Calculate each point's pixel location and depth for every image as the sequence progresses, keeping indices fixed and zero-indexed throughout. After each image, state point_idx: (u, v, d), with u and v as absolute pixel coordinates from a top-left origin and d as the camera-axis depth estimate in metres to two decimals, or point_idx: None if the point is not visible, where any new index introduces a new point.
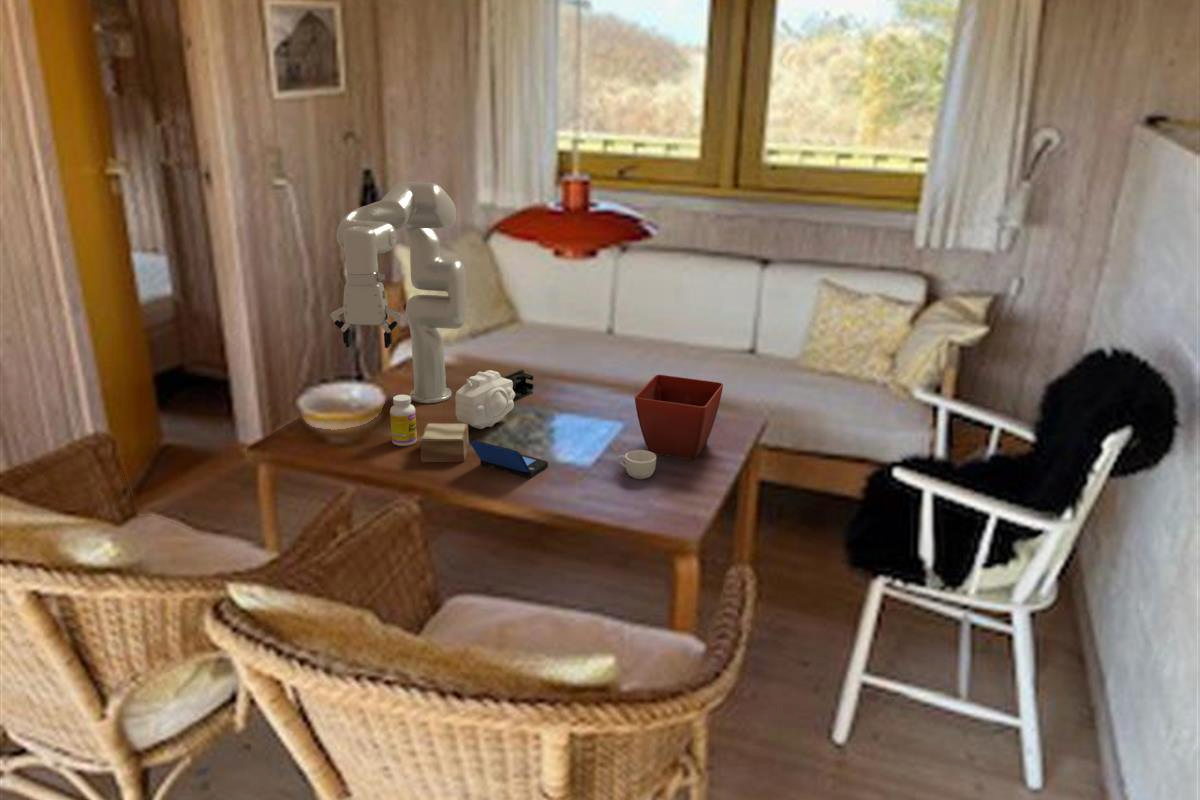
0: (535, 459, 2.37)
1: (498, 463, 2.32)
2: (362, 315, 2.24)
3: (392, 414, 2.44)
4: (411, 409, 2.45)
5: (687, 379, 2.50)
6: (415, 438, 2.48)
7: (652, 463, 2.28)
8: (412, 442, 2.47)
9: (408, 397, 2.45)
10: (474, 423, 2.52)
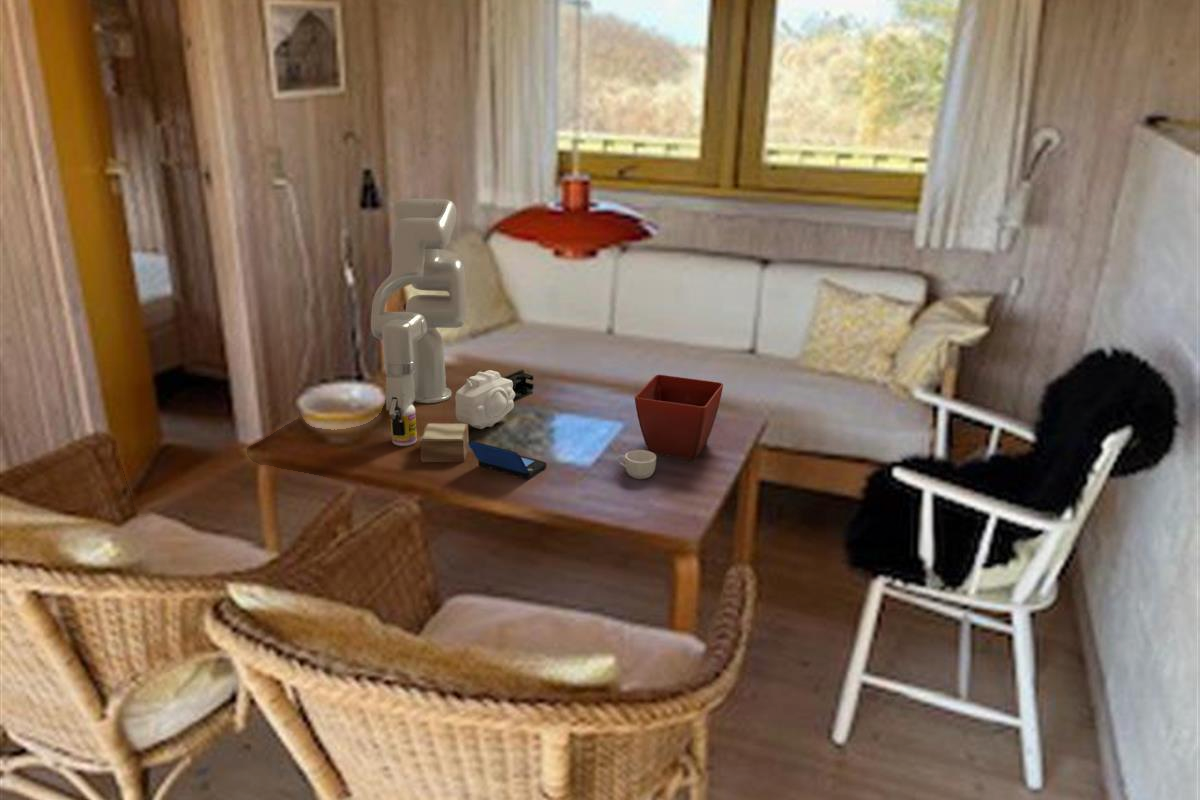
0: (533, 460, 2.37)
1: (497, 464, 2.32)
2: (409, 398, 2.44)
3: None
4: (411, 409, 2.45)
5: (687, 379, 2.50)
6: (415, 438, 2.48)
7: (652, 463, 2.28)
8: (412, 442, 2.47)
9: None
10: (474, 423, 2.52)
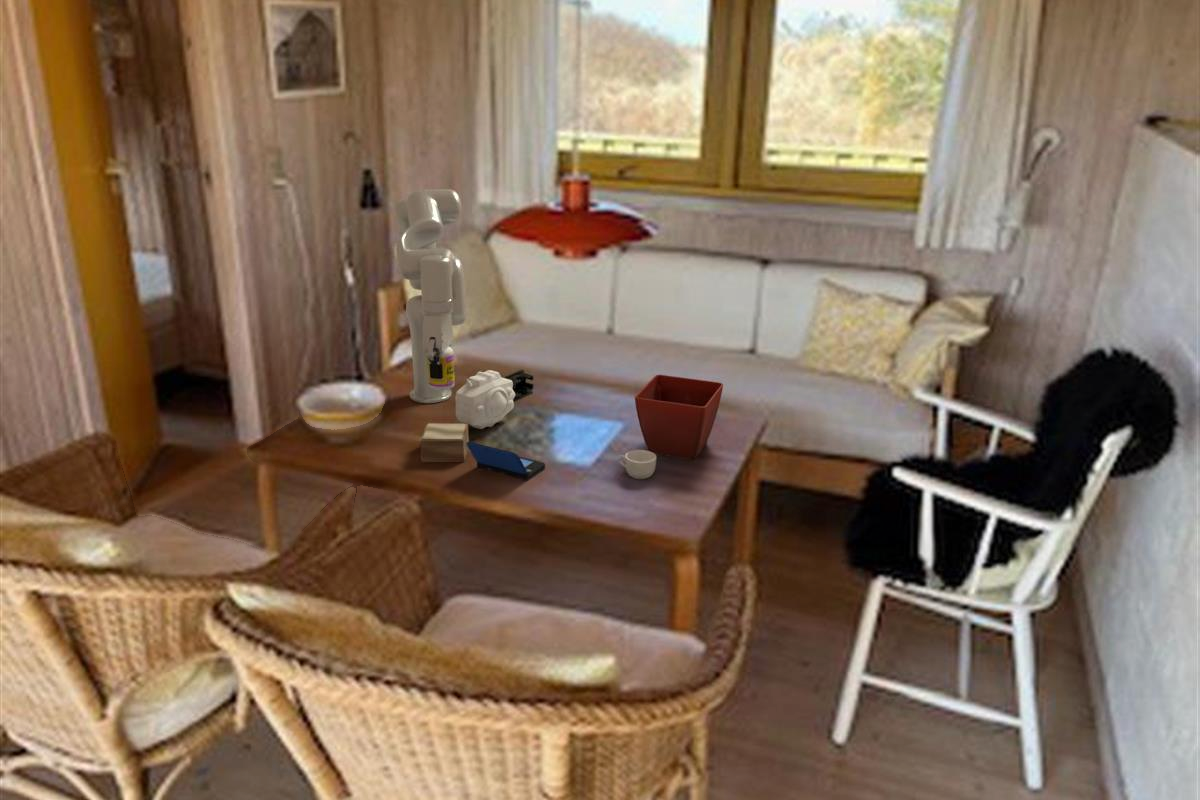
0: (532, 461, 2.36)
1: (495, 465, 2.31)
2: (447, 339, 2.31)
3: None
4: (449, 351, 2.31)
5: (687, 379, 2.50)
6: (452, 382, 2.35)
7: (652, 463, 2.28)
8: (450, 386, 2.34)
9: None
10: (474, 423, 2.52)
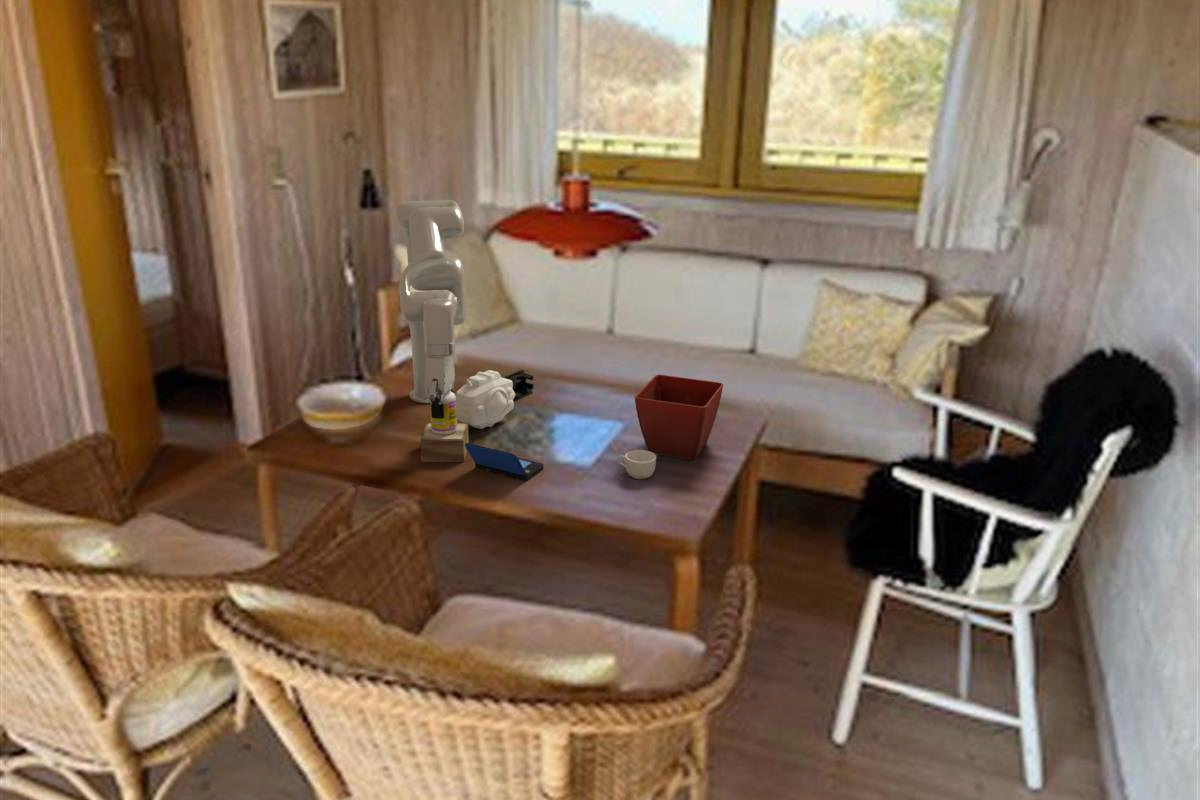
0: (530, 462, 2.36)
1: (494, 466, 2.30)
2: (449, 380, 2.35)
3: None
4: (451, 396, 2.36)
5: (687, 379, 2.50)
6: (455, 426, 2.39)
7: (652, 463, 2.28)
8: (452, 431, 2.39)
9: None
10: (474, 423, 2.52)
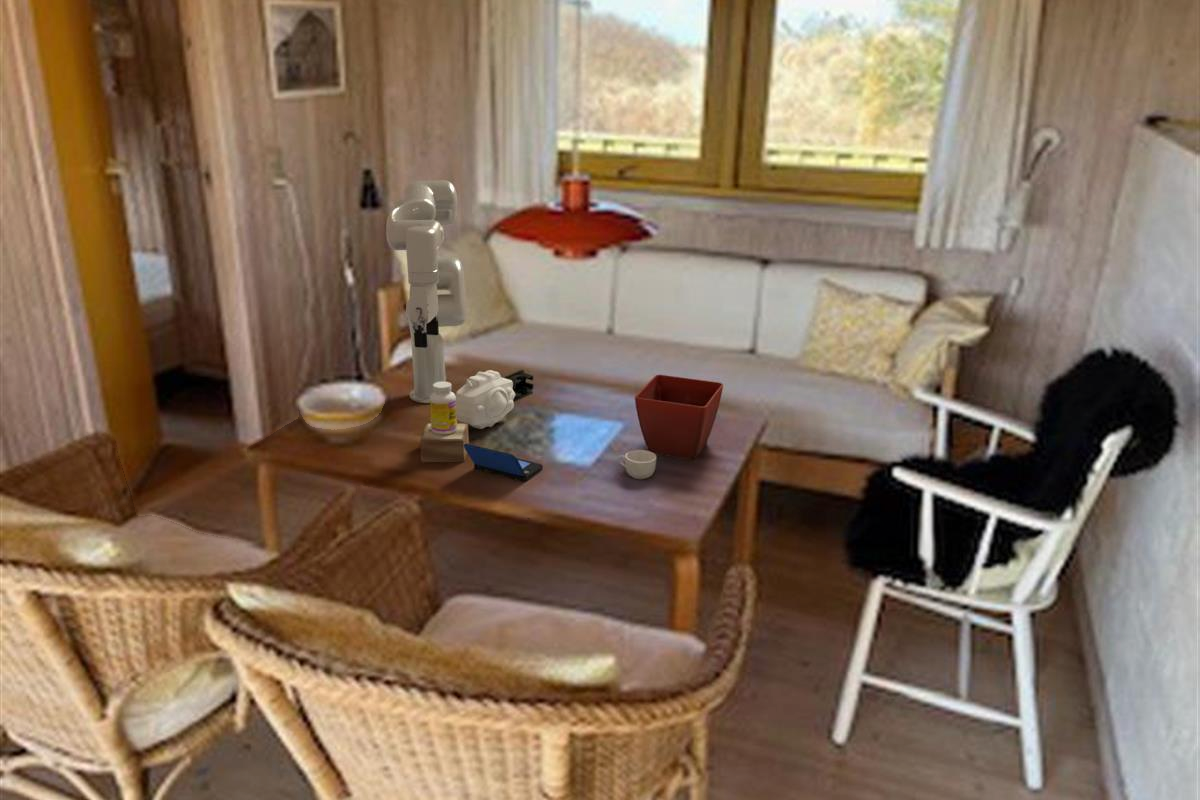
0: (529, 462, 2.35)
1: (493, 467, 2.30)
2: (433, 309, 2.35)
3: (432, 401, 2.36)
4: (451, 396, 2.36)
5: (687, 379, 2.50)
6: (455, 426, 2.39)
7: (652, 463, 2.28)
8: (452, 431, 2.39)
9: (448, 384, 2.37)
10: (474, 423, 2.52)
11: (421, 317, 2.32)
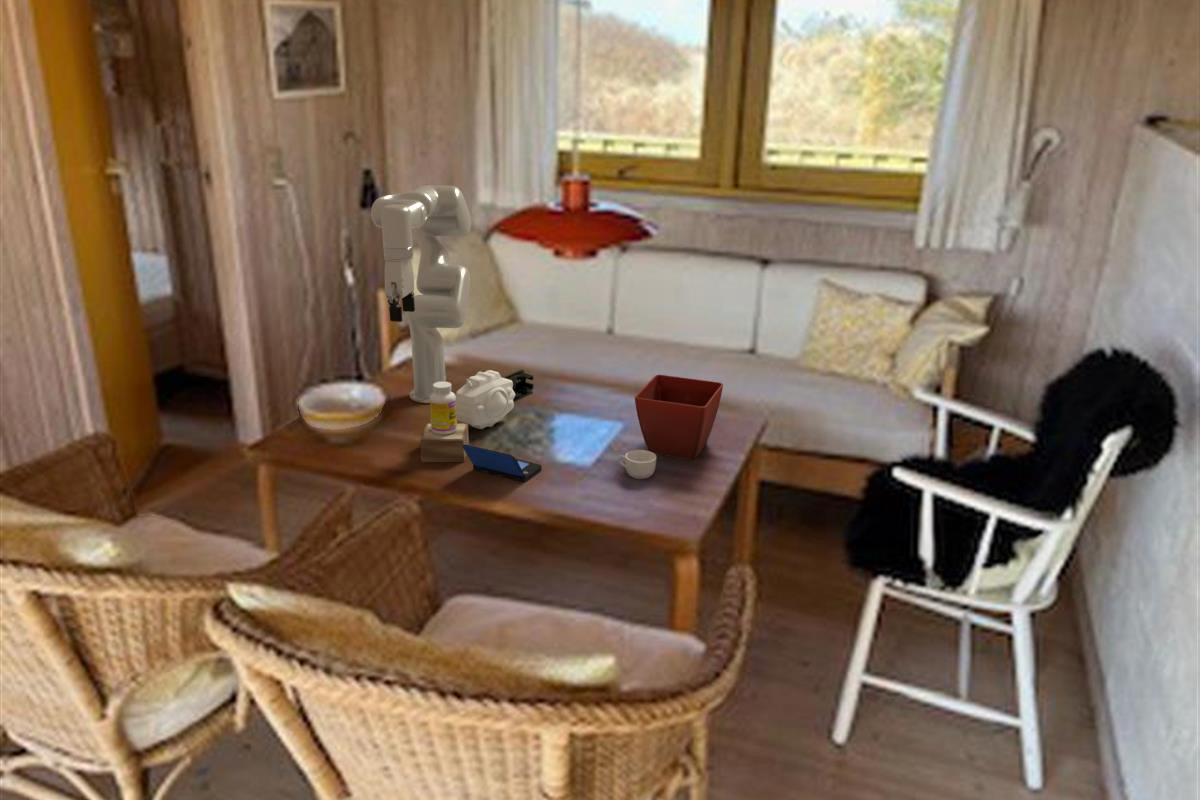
0: (528, 463, 2.35)
1: (492, 468, 2.30)
2: (408, 285, 2.44)
3: (432, 401, 2.36)
4: (451, 396, 2.36)
5: (687, 379, 2.50)
6: (455, 426, 2.39)
7: (652, 463, 2.28)
8: (452, 431, 2.39)
9: (448, 384, 2.37)
10: (474, 423, 2.52)
11: (396, 292, 2.41)
